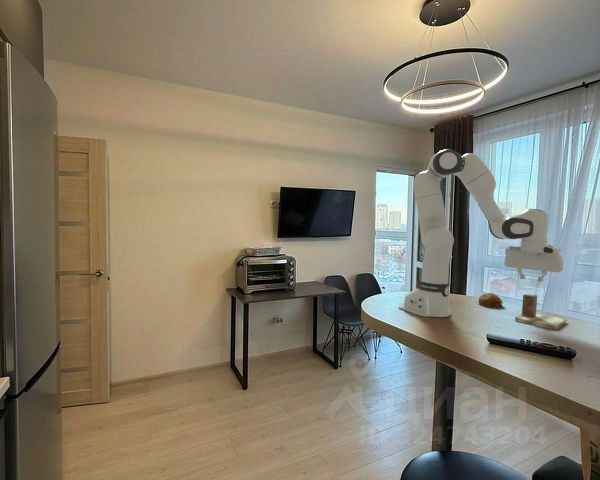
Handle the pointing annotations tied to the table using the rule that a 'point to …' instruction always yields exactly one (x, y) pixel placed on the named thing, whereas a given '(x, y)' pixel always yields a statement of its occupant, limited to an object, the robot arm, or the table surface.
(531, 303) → the walnut block
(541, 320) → the board
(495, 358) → the table surface
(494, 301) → the bread roll
